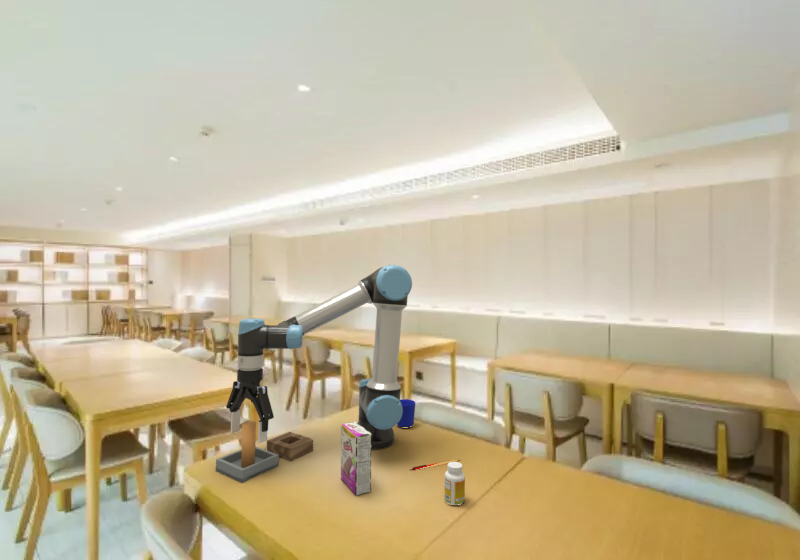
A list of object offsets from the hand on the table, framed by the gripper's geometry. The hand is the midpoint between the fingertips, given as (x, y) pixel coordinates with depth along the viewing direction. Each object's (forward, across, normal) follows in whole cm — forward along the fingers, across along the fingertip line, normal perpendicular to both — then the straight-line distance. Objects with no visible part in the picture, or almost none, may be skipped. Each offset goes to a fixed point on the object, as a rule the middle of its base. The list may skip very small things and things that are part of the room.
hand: (248, 436), depth 121 cm
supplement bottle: (+10, +61, +20) cm, 65 cm away
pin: (+9, 0, 0) cm, 9 cm away
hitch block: (+10, +1, +16) cm, 19 cm away
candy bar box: (+10, +34, +11) cm, 37 cm away
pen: (+10, +47, +36) cm, 60 cm away
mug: (+10, +19, +62) cm, 66 cm away
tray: (+10, 0, 0) cm, 10 cm away
